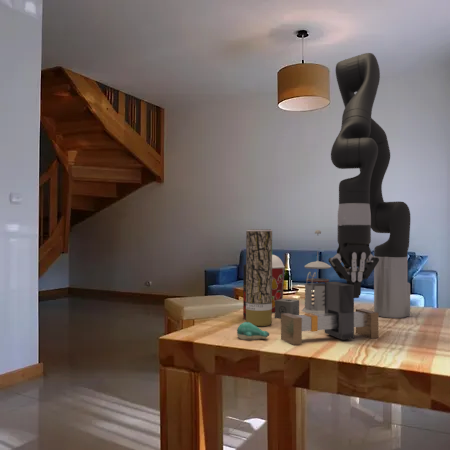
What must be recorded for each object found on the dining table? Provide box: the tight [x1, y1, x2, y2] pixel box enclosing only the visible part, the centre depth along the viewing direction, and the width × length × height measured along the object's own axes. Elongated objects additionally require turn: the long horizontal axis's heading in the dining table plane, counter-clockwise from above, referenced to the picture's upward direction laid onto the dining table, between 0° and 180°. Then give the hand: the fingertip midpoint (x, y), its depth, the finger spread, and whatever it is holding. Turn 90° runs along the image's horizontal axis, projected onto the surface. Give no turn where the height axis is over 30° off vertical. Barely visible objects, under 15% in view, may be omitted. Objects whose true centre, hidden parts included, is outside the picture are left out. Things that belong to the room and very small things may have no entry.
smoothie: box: [272, 254, 286, 313], centre depth 146 cm, size 8×8×20 cm
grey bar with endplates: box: [280, 308, 379, 346], centre depth 109 cm, size 22×6×6 cm, turn 110°
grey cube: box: [274, 298, 300, 320], centre depth 135 cm, size 5×5×5 cm
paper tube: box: [245, 228, 273, 327], centre depth 125 cm, size 7×7×25 cm
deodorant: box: [242, 263, 246, 321], centre depth 133 cm, size 6×6×15 cm
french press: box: [301, 229, 332, 314], centre depth 145 cm, size 10×12×25 cm
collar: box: [324, 281, 355, 340], centre depth 110 cm, size 3×7×12 cm, turn 20°
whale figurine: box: [236, 321, 270, 341], centre depth 108 cm, size 6×7×4 cm
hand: (353, 297), depth 111 cm, fingers closed
